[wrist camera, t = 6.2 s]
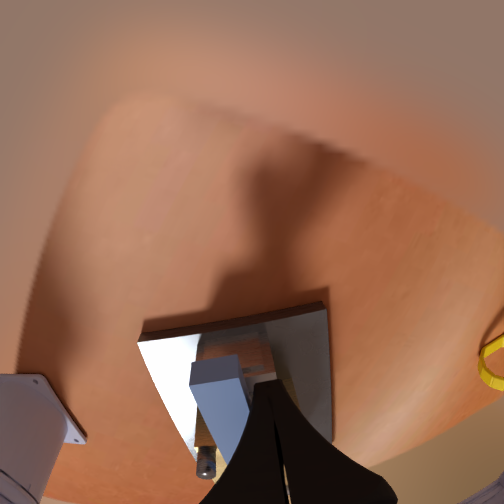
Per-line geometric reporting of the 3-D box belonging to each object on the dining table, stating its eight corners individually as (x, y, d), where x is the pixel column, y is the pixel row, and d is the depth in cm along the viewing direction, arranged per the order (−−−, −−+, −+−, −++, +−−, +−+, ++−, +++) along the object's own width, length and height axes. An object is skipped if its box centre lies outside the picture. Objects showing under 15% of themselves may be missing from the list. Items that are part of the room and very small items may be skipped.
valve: (204, 467, 23) (204, 534, 16) (140, 333, 18) (108, 419, 11) (329, 446, 23) (350, 512, 16) (321, 300, 18) (367, 379, 11)
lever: (283, 477, 15) (288, 503, 13) (242, 484, 15) (243, 510, 13) (247, 345, 12) (250, 379, 10) (183, 357, 12) (177, 390, 10)
